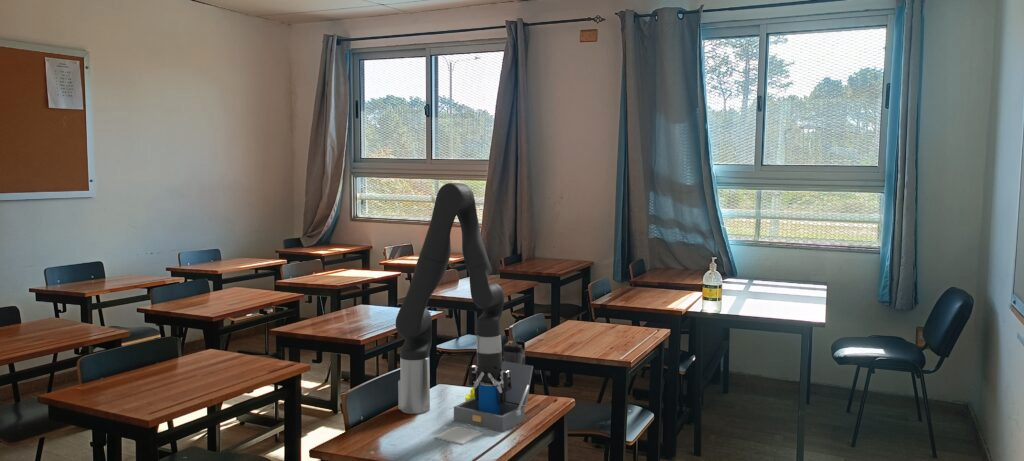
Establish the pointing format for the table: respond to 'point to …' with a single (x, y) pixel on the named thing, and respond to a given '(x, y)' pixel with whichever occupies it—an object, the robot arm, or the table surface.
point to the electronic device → (514, 353)
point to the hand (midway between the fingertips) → (490, 401)
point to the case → (508, 411)
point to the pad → (459, 435)
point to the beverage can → (488, 398)
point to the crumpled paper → (470, 395)
